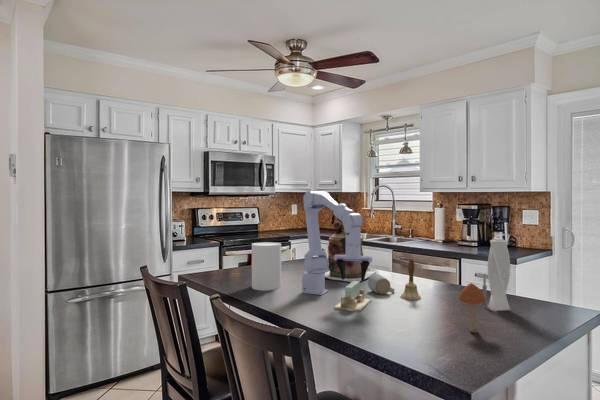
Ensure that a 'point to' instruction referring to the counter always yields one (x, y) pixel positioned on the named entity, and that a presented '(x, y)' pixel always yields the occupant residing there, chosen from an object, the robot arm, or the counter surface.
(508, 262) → the white twisted vase
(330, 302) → the counter surface
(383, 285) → the ceramic mug
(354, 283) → the glasses case
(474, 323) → the mushroom
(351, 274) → the cookie jar
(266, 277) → the canister
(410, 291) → the hand bell
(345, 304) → the display stand
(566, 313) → the counter surface
